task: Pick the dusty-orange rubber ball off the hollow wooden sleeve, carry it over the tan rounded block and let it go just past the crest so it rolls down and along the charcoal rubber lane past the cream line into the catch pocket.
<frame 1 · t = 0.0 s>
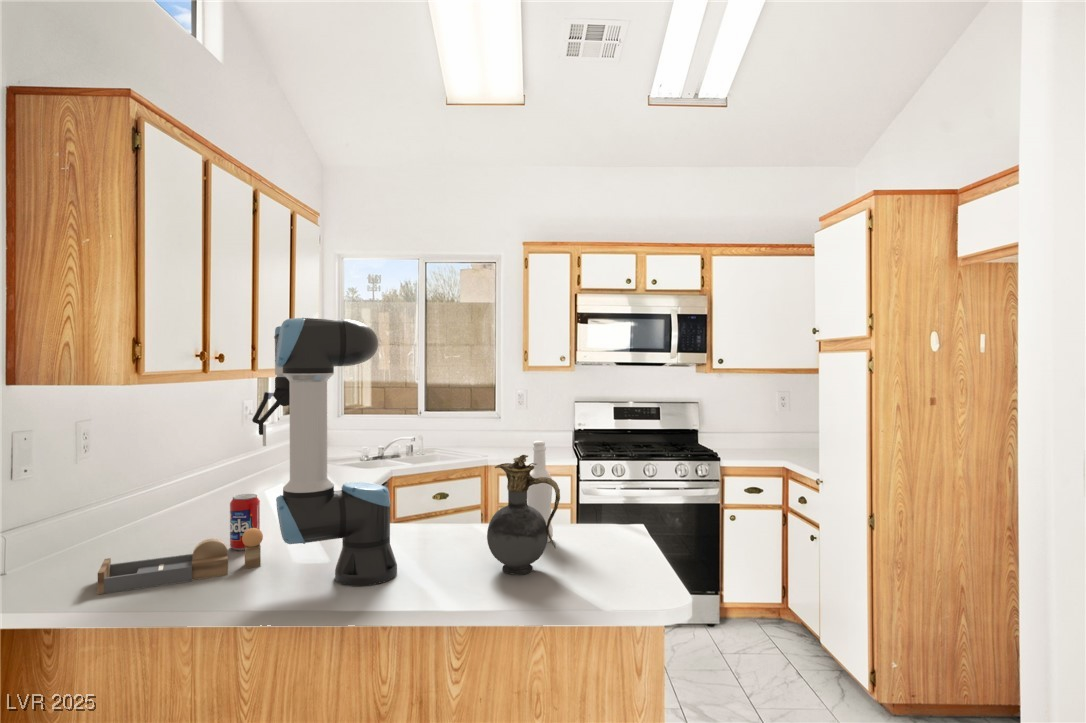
hand: (288, 444, 197), 28 cm above the worktop, fingers open, 13 cm apart
backstop: (104, 586, 153), on the worktop
soda can: (245, 548, 184), on the worktop
ball: (252, 537, 168), point 7 cm above the worktop, touching hollow wooden sleeve
lane: (151, 579, 157), on the worktop
pitcher: (523, 571, 164), on the worktop
hollow wooden sleeve: (252, 565, 168), on the worktop
bottle: (539, 540, 191), on the worktop
tan rounded block: (210, 571, 164), on the worktop
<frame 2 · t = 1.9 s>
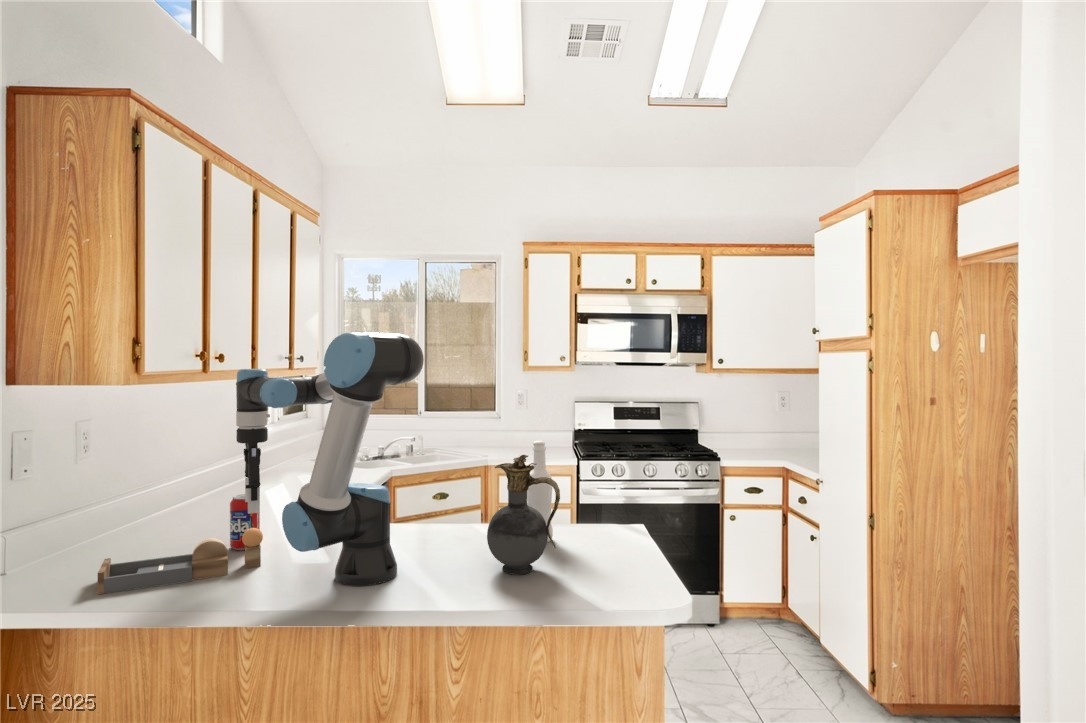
hand: (252, 507, 168), 15 cm above the worktop, fingers open, 13 cm apart
nothing on the worktop moved.
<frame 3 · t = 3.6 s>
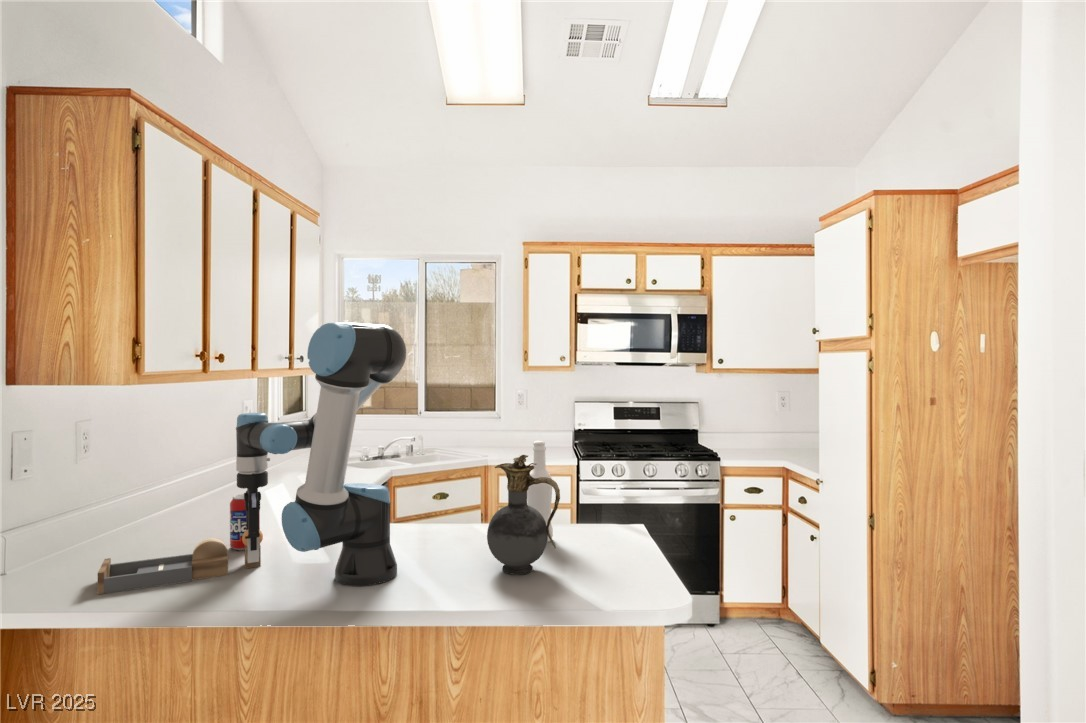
hand: (252, 558, 168), 2 cm above the worktop, fingers closed on ball, 5 cm apart
ball: (252, 537, 168), point 7 cm above the worktop, touching gripper, hollow wooden sleeve
everything else where it was.
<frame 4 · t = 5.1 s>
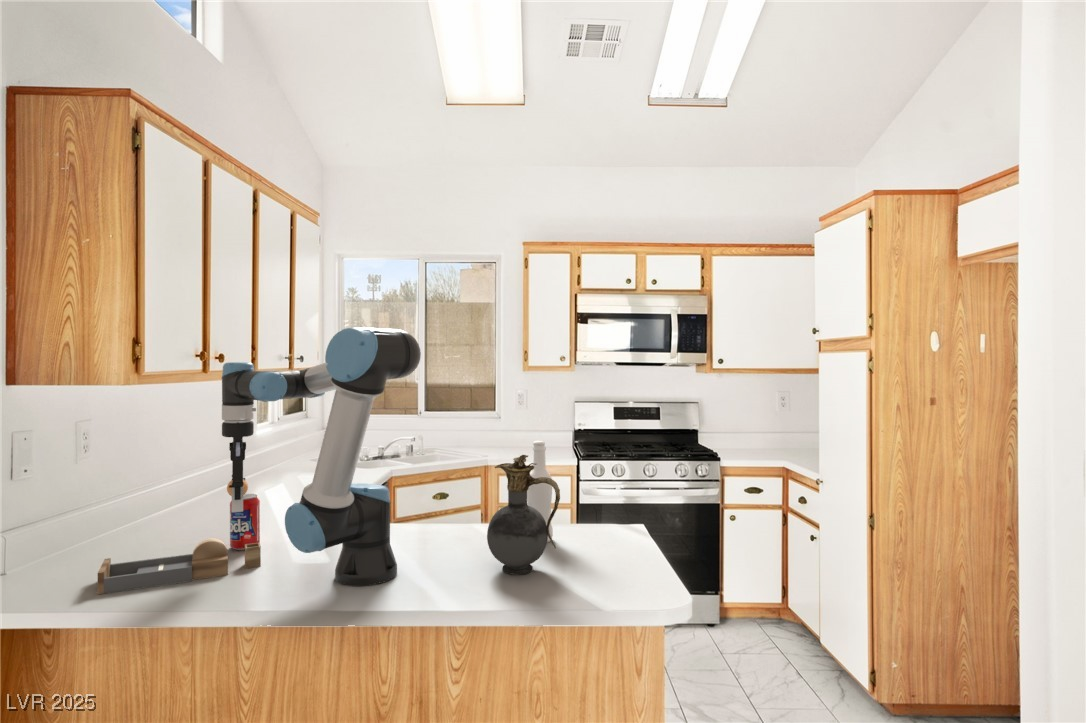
hand: (237, 508, 167), 15 cm above the worktop, fingers closed on ball, 5 cm apart
ball: (237, 487, 167), point 21 cm above the worktop, touching gripper
everything else where it was.
when the fingers open (6 cm above the worktop, at t = 6.8 s): ball drops 9 cm and tips over, point 2 cm above the worktop.
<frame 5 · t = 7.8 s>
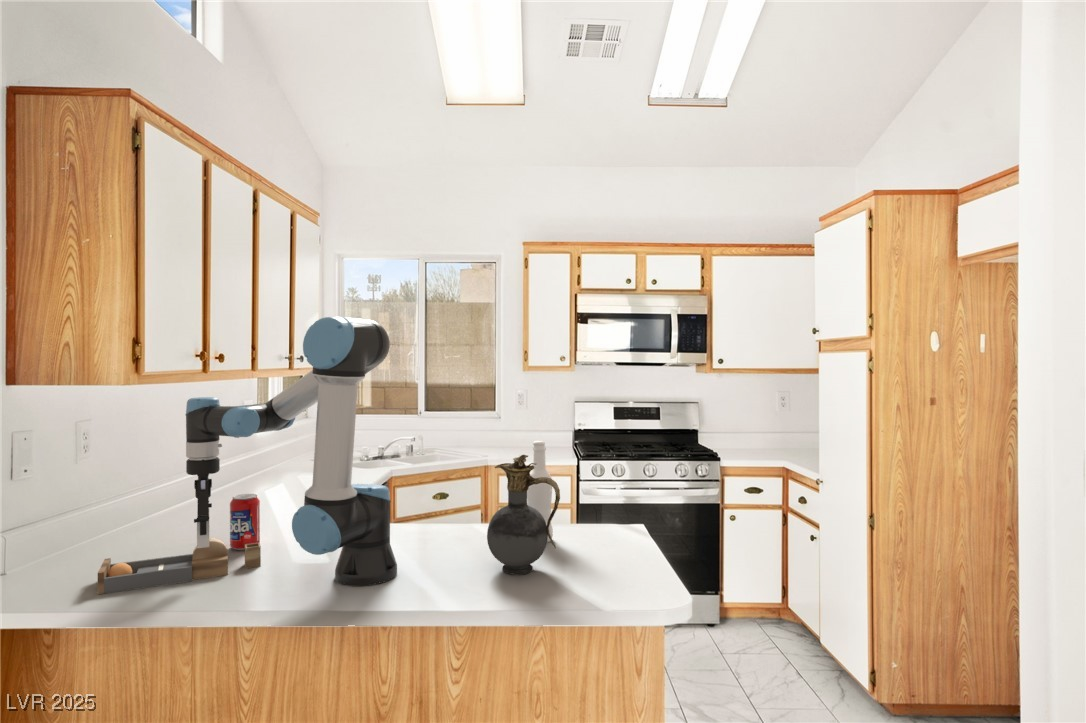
hand: (203, 540, 163), 8 cm above the worktop, fingers open, 13 cm apart
ball: (120, 573, 154), point 2 cm above the worktop, tilted 144°
everything else where it was.
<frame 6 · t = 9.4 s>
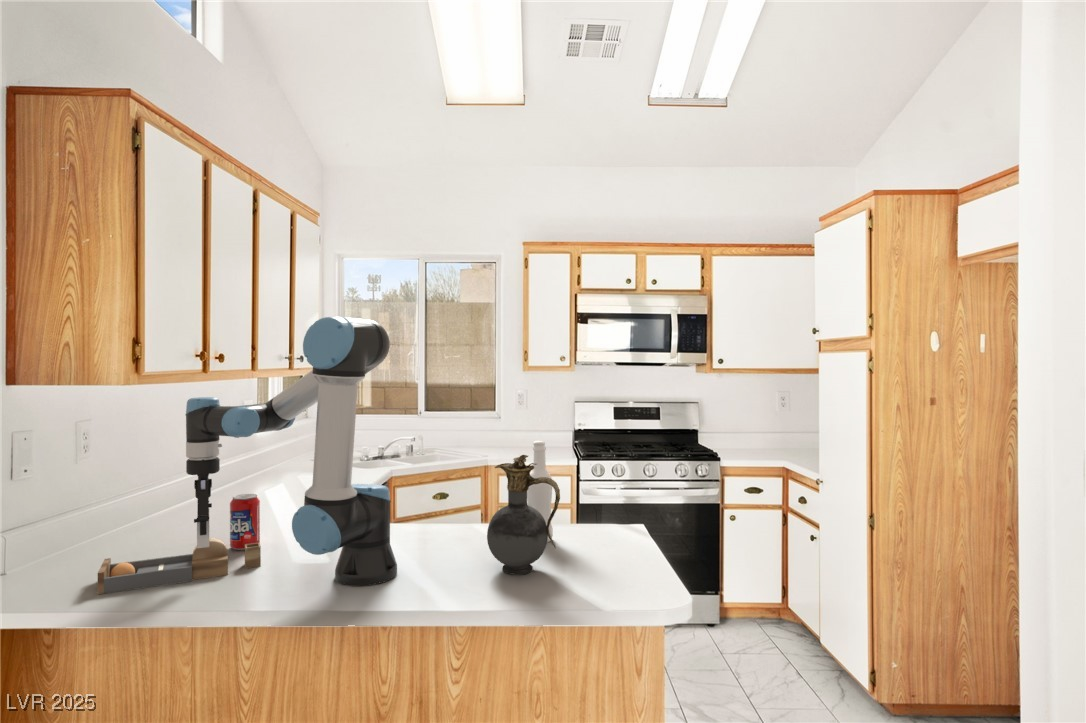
hand: (203, 540, 163), 8 cm above the worktop, fingers open, 13 cm apart
ball: (122, 573, 155), point 2 cm above the worktop, tilted 130°
everything else where it was.
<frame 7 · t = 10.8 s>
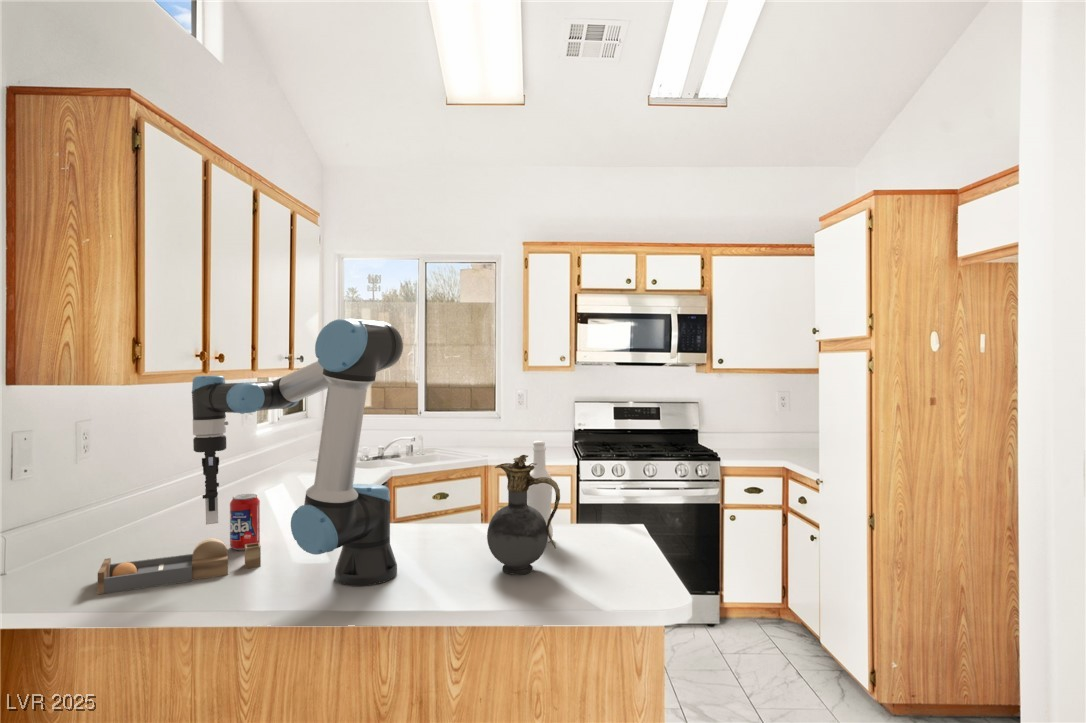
hand: (211, 518, 163), 14 cm above the worktop, fingers open, 13 cm apart
ball: (124, 573, 155), point 2 cm above the worktop, tilted 122°
everything else where it was.
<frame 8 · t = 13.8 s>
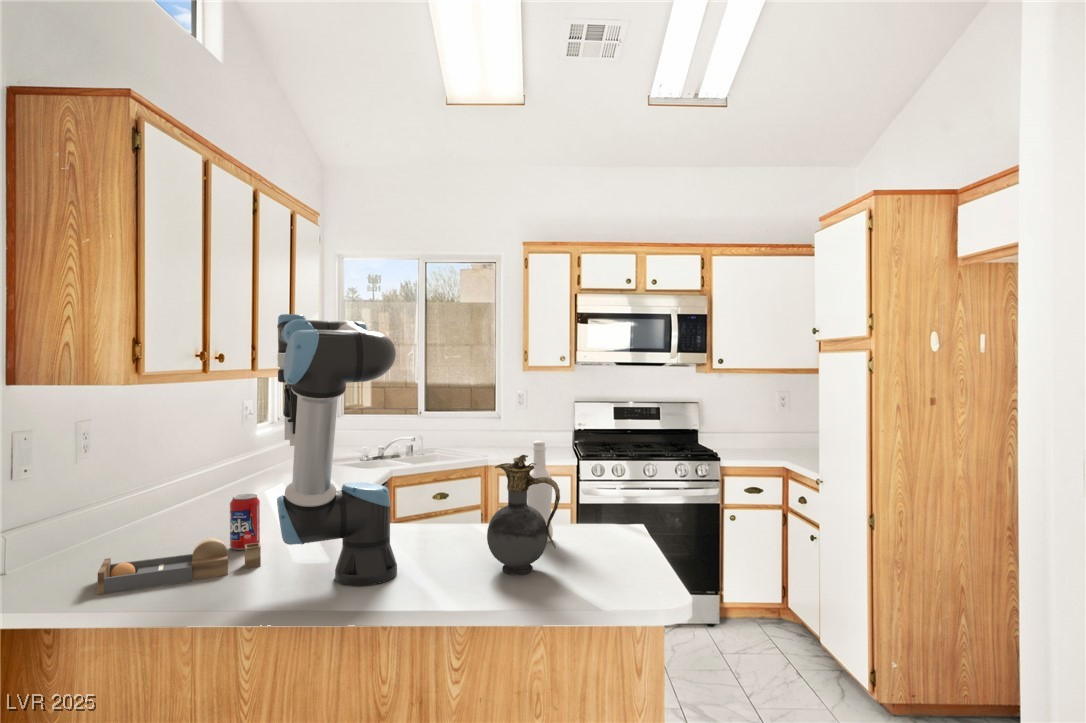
hand: (292, 442, 182), 31 cm above the worktop, fingers open, 13 cm apart
ball: (123, 573, 155), point 2 cm above the worktop, tilted 129°
everything else where it was.
at the end: ball inside the target area (0.3 cm from its centre), point 2.5 cm above the worktop; the gripper is holding nothing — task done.
